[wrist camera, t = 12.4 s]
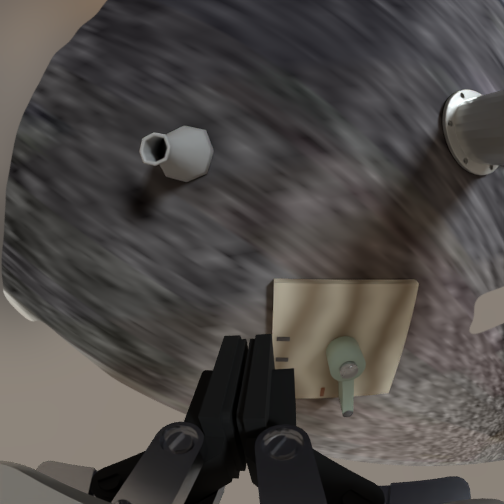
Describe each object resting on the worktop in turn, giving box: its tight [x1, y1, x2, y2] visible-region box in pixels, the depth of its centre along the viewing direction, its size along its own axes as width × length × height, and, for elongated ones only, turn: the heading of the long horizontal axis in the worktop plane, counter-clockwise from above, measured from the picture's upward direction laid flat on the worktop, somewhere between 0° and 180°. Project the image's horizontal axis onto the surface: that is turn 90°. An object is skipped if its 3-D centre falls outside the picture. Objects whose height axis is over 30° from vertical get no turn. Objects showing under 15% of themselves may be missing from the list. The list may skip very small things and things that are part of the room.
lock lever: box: [326, 336, 366, 417], centre depth 36 cm, size 13×5×5 cm, turn 11°
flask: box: [139, 126, 214, 182], centre depth 29 cm, size 7×7×10 cm
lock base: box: [272, 279, 419, 399], centre depth 39 cm, size 20×20×2 cm
